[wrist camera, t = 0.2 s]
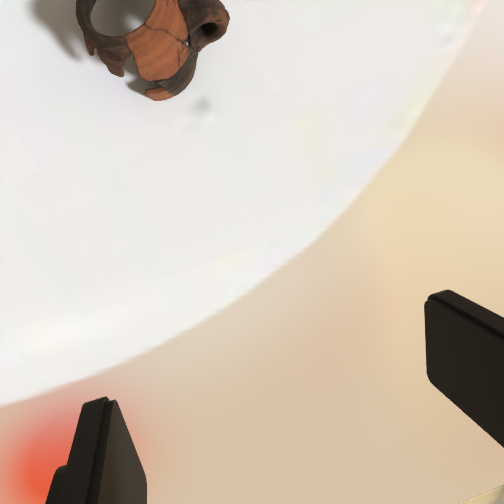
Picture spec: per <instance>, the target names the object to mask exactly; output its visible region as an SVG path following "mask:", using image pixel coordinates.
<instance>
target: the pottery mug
mask: <svg viewBox="0 0 504 504" xmlns="http://www.w3.org/2000/svg"><path fill="white" fill-rule="evenodd" d="M95 2H96V0H77V1H76V16H77V20H78V23H79V25H80V27H81V29H82V31H83V35H84V40H85V44H86V47H87V50H88V52H89V55H91V56H92V55H93V54H94V49H95V48H96V49H97V52H98V55H99V57H100V59H101V61H102V62H103V63H104V64H105V65H106V66H107V67H108V70H109V71H110V72H111V73H112V74H114V75H116V76H119V77H123V76H124V71H123V67H124V65H125V62H126V60H127V58H128V57H129V56H130V55H131V53H132V54H133V57H134V61H135V63H136V66H137V69H138V73H139V76H140V77H142V78H143V79H145V80H147V81H152V80H156V82H157V83H158V84H159V85H161V86H162V87H159V88H155V89H146V90H145V95H146V96H147V97H149V98H151V99H152V100H154V101H161V100H166V99H169V98H171V97H173V96H176V95H178V94H179V93H180V92H182V91H183V90H184V89H185V88H186V87H187V86H188V84H189V83H190V82H191V80H192V78H193V76H194V72H195V68H196V62H197V57H198V52H200V51H201V50H202V48H204V47H205V46H206V45H208V44H210V43H212V42H214V41H216V40H218V39H220V38H221V37H222V36H223V35H224V34H225V32H226V30H227V26H228V23H229V20H230V17H229V13H228V11H227V10H226V9H225V7H224V5H223V4H222V3H221V2H220V1H219V0H155V3H154V7H153V9H152V11H151V13H150V15H149V17H148V18H147V19H146V21H145V22H144V24H142V25H141V26H140V27H139V28H137V29H136V30H134V31H132V32H130V33H128V34H126V35H125V36H117V37H110V36H106V35H103V34H100V33H98V32H97V31H96V30H95V29H94V28H93V27H92V24H91V21H90V14H91V11H92V8H93V6H94V4H95ZM187 37H188V46H187V45H186V44H185V43H184V40H186V39H187Z"/></svg>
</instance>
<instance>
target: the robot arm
mask: <svg viewBox="0 0 504 504" xmlns="http://www.w3.org/2000/svg"><path fill="white" fill-rule="evenodd" d="M424 310H425V311H424V312H425V338H426V365H427V375H428V378H429V380H430V382H431V383H432V384H433V385H434V386H435V387H436V388H437V389H438V390H439V391H441V392H442V393H443V394H444V395H445V396H446V397H447V398H448V399H450V400H451V401H452V402H453V403H454V404H455V405H456V406H458V407H459V408H460V409H461V410H462V411H463V412H464V413H465V414H466V415H468V416H469V417H470V418H471V419H472V420H473V421H474V422H476V423H477V424H478V425H479V426H480V427H481V428H482V429H483V430H484V431H486V432H487V433H488V434H489V435H490V436H491V437H492V438H493V439H495V440H496V441H497V442H498V443H499V444H500V445H501V446H503V447H504V318H503V317H501V316H499V315H498V314H496V313H493V312H492V311H490V310H488V309H486V308H484V307H482V306H480V305H478V304H476V303H474V302H472V301H470V300H469V299H467V298H465V297H463V296H461V295H459V294H457V293H455V292H453V291H451V290H444V291H441V292H438V293H434V294H431V295H430V296H429V297H428V300H427V301H426V302H425V305H424ZM45 504H147V481H146V476H145V473H144V470H143V467H142V465H141V462H140V460H139V457H138V454H137V452H136V449H135V447H134V444H133V441H132V439H131V436H130V434H129V431H128V429H127V426H126V423H125V421H124V418H123V416H122V413H121V410H120V408H119V405H118V403H117V401H116V400H112V401H109V399H108V398H107V397H102V398H99V399H96V400H93V401H90V402H86V403H84V404H83V406H82V410H81V413H80V417H79V421H78V425H77V428H76V432H75V436H74V440H73V443H72V447H71V451H70V454H69V458H68V462H67V465H64V466H61V467H59V468H58V469H57V470H56V472H55V474H54V476H53V480H52V483H51V486H50V490H49V493H48V496H47V500H46V503H45ZM460 504H504V485H502V486H500V487H497V488H495V489H493V490H490V491H488V492H486V493H483V494H481V495H478V496H476V497H474V498H471V499H469V500H467V501H464V502H462V503H460Z"/></svg>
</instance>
